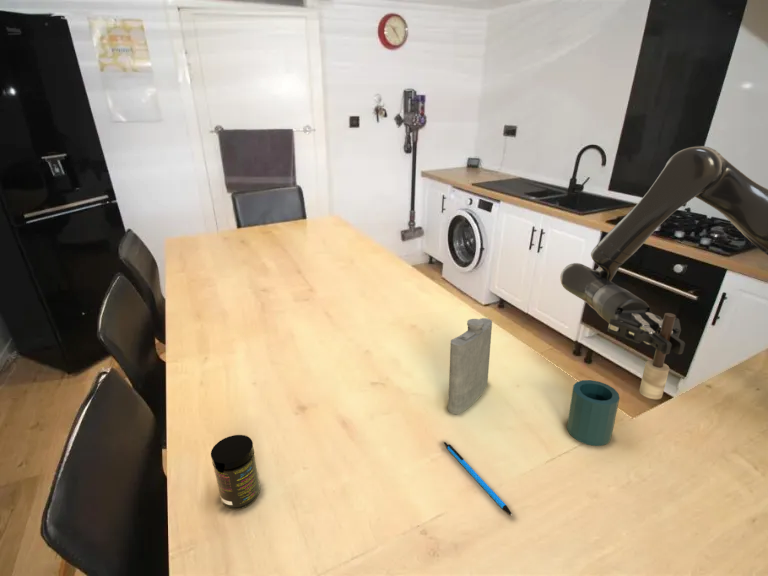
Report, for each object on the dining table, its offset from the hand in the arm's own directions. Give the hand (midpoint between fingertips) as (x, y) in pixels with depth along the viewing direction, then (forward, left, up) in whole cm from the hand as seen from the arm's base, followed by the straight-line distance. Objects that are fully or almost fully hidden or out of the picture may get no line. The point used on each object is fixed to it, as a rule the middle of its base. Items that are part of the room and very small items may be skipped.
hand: (675, 349), depth 69 cm
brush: (0, -3, -11) cm, 11 cm away
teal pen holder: (+7, -8, -24) cm, 26 cm away
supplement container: (+75, +6, -24) cm, 79 cm away
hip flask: (+29, -21, -24) cm, 43 cm away
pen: (+33, +3, -24) cm, 41 cm away
